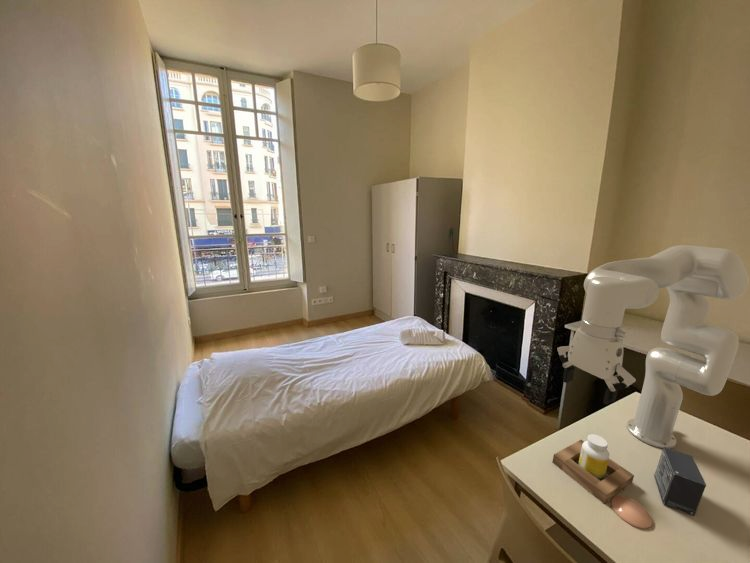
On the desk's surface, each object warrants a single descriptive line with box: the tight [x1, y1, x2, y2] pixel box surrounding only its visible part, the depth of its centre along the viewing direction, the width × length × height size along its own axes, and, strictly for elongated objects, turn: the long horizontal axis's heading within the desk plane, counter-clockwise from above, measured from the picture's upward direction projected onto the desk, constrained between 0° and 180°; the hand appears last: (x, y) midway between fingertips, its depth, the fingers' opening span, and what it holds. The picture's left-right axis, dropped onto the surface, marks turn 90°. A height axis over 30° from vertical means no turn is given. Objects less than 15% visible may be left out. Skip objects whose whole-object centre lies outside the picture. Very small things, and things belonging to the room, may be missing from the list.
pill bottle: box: [577, 433, 610, 481], centre depth 87 cm, size 6×6×12 cm
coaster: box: [610, 495, 653, 530], centre depth 77 cm, size 8×8×1 cm
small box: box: [653, 447, 707, 517], centre depth 80 cm, size 11×6×10 cm, turn 148°
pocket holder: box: [552, 439, 635, 505], centre depth 88 cm, size 14×14×3 cm
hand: (586, 391), depth 76 cm, fingers open, 9 cm apart
